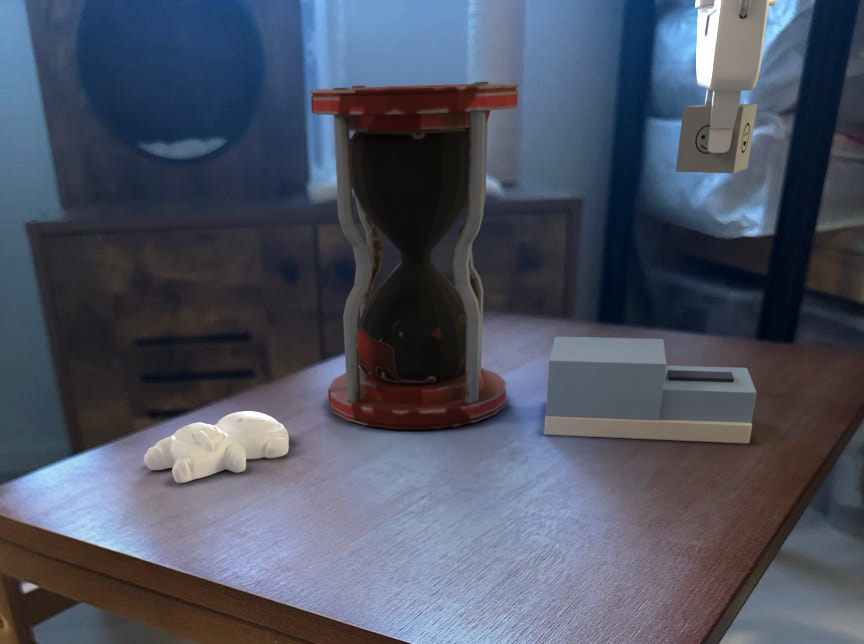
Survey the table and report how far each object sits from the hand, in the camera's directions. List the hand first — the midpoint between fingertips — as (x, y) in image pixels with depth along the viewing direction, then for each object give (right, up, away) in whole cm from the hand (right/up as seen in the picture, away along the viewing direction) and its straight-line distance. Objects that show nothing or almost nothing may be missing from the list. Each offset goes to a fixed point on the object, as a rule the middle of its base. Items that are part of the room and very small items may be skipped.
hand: (714, 149), depth 83 cm
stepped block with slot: (-7, -25, -4) cm, 26 cm away
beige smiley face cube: (0, -2, +1) cm, 2 cm away
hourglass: (-26, -22, +3) cm, 34 cm away
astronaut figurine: (-42, -29, -8) cm, 52 cm away
